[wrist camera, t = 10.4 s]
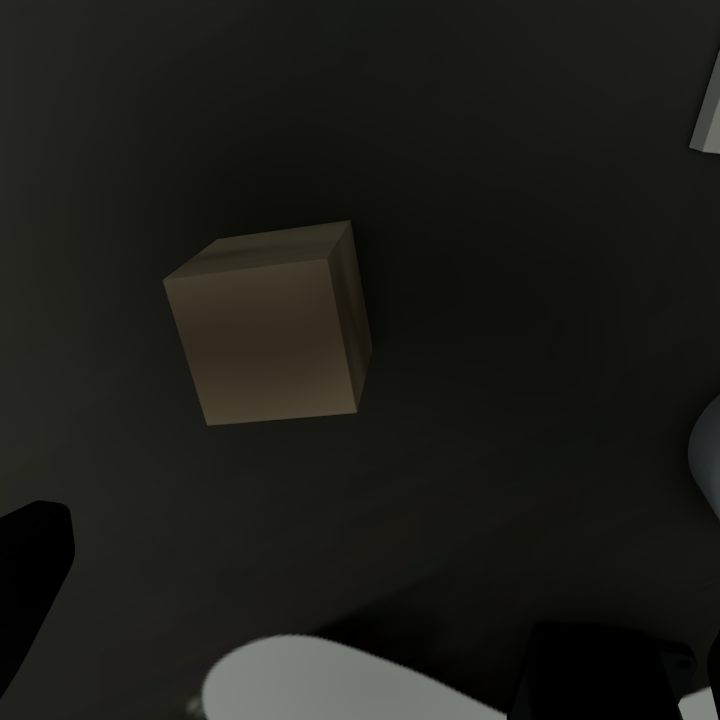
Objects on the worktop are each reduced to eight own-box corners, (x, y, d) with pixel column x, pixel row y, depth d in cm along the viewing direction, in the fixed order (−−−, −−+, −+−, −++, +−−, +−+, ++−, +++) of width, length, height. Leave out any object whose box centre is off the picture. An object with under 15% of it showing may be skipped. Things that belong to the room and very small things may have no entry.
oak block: (372, 347, 21) (356, 412, 17) (250, 360, 22) (207, 425, 18) (350, 219, 20) (327, 258, 16) (217, 238, 20) (162, 280, 16)
